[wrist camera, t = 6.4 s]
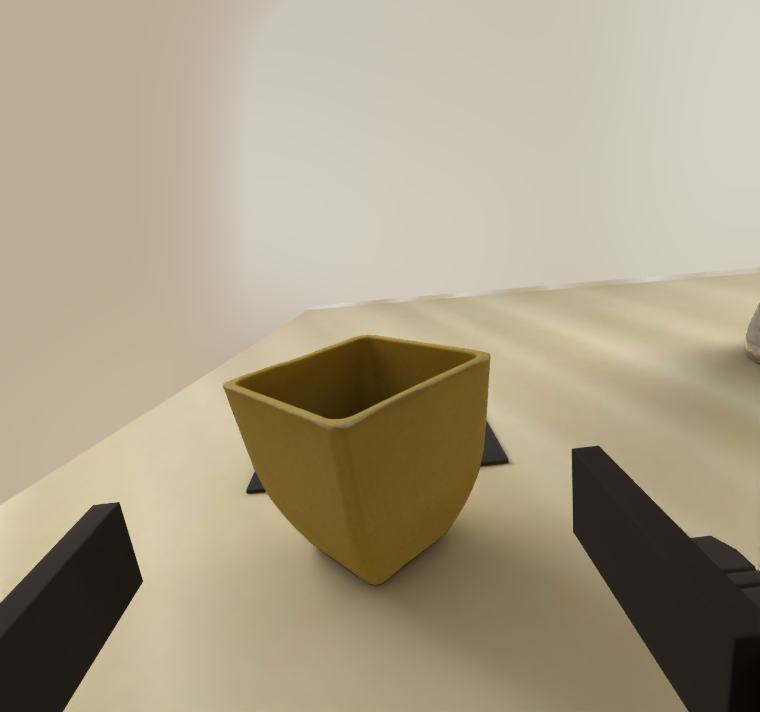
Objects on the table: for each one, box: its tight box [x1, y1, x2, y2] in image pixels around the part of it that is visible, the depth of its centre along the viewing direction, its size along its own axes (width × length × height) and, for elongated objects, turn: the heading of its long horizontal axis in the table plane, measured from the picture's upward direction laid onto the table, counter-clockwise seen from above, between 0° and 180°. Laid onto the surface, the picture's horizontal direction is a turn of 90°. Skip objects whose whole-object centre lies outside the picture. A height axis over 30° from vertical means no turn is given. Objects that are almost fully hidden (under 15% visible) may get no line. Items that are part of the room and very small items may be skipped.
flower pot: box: [223, 335, 490, 585], centre depth 23 cm, size 9×9×9 cm
